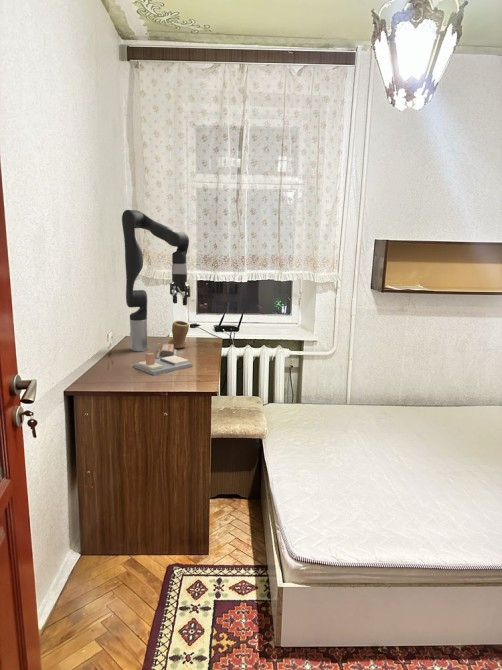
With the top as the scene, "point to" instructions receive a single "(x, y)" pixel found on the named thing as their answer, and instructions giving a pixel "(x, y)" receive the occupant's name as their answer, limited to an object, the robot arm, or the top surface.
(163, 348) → the packaged product
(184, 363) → the board
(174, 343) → the brown hollow piece
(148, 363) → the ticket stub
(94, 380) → the top surface
